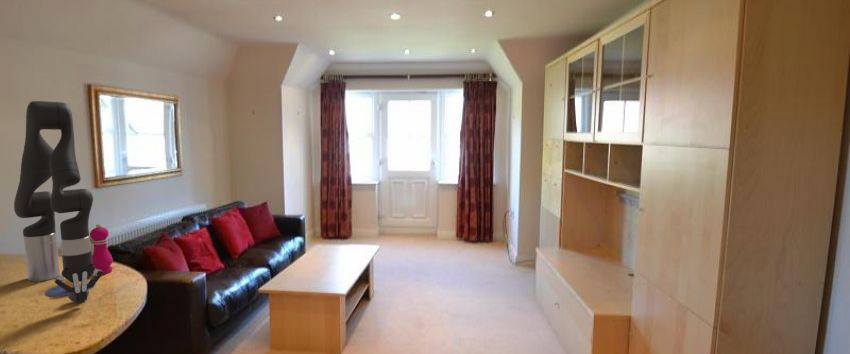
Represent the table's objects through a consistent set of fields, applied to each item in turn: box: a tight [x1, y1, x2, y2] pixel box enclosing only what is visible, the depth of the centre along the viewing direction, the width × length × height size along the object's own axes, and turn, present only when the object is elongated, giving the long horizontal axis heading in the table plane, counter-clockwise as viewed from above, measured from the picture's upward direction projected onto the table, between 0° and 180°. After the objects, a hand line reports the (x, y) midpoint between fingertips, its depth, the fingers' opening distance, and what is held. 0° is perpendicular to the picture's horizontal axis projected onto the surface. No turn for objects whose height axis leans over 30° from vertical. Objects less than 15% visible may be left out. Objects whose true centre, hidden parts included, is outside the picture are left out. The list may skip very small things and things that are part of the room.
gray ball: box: [67, 285, 90, 303], centre depth 146 cm, size 6×6×6 cm
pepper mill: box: [89, 223, 114, 275], centre depth 172 cm, size 7×7×20 cm
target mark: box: [45, 280, 96, 298], centre depth 157 cm, size 14×14×1 cm
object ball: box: [64, 278, 81, 292], centre depth 154 cm, size 6×6×6 cm
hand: (81, 302), depth 142 cm, fingers closed
